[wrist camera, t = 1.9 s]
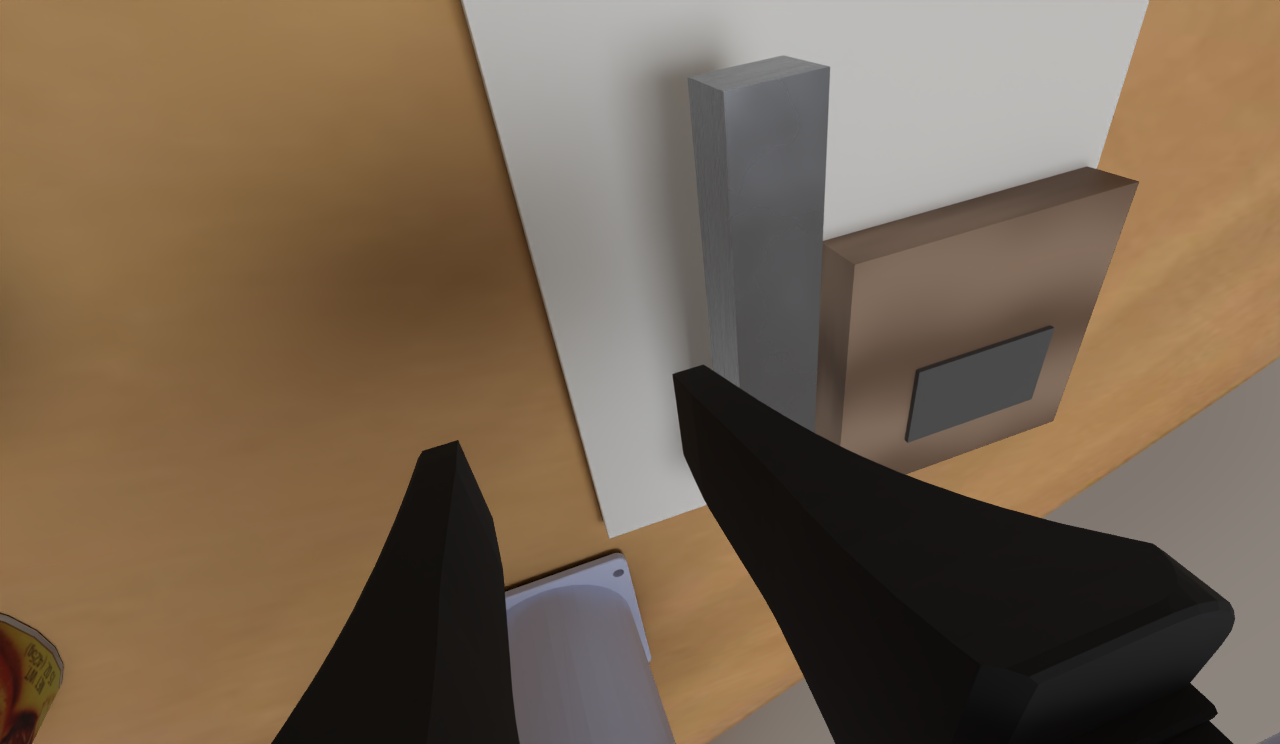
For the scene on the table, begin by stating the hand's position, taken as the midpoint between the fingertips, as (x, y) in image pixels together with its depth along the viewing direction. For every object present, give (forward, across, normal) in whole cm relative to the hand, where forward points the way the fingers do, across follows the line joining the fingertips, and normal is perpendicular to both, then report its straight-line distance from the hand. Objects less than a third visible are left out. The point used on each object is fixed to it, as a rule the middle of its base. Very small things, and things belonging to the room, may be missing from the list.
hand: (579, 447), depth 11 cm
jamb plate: (+9, -11, +3) cm, 15 cm away
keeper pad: (+6, -16, +9) cm, 19 cm away
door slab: (+9, -16, +8) cm, 20 cm away
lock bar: (+6, -6, +3) cm, 9 cm away
